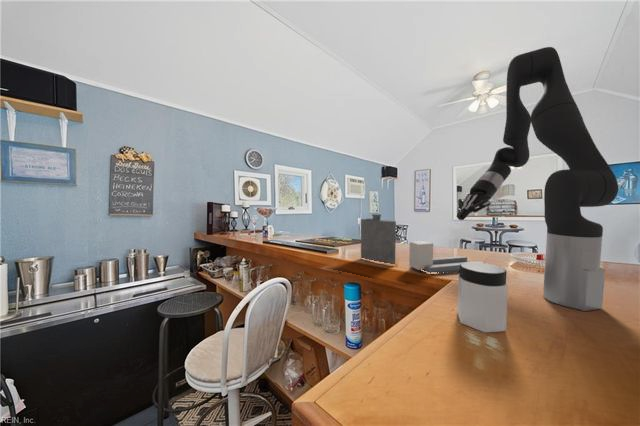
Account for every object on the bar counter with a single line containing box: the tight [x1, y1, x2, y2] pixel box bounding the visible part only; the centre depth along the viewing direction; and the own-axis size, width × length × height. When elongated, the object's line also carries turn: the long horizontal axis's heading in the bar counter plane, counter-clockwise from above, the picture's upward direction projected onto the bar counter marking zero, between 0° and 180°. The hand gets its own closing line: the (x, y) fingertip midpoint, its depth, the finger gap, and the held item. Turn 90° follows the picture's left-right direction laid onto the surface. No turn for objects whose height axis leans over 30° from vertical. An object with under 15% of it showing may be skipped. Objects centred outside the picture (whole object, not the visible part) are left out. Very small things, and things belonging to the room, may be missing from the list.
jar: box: [456, 261, 509, 333], centre depth 49 cm, size 9×8×12 cm
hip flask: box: [360, 213, 397, 265], centre depth 94 cm, size 16×4×20 cm, turn 42°
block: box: [408, 240, 434, 271], centre depth 83 cm, size 5×6×9 cm
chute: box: [422, 255, 486, 274], centre depth 86 cm, size 10×24×2 cm, turn 103°
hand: (459, 218), depth 86 cm, fingers closed
